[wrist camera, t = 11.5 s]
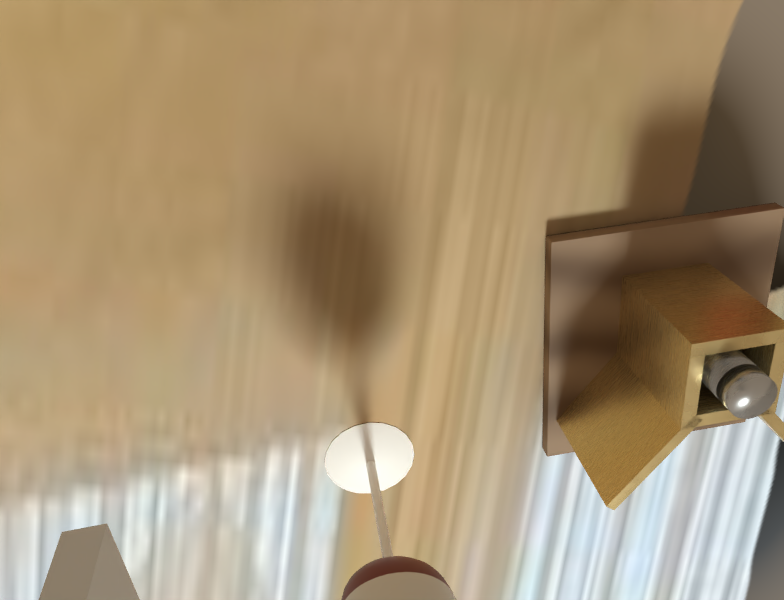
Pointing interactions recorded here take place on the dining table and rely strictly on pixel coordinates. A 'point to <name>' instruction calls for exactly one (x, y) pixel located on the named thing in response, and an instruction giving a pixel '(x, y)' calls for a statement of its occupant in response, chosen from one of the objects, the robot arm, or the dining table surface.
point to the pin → (739, 383)
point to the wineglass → (381, 512)
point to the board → (604, 284)
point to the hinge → (667, 373)
